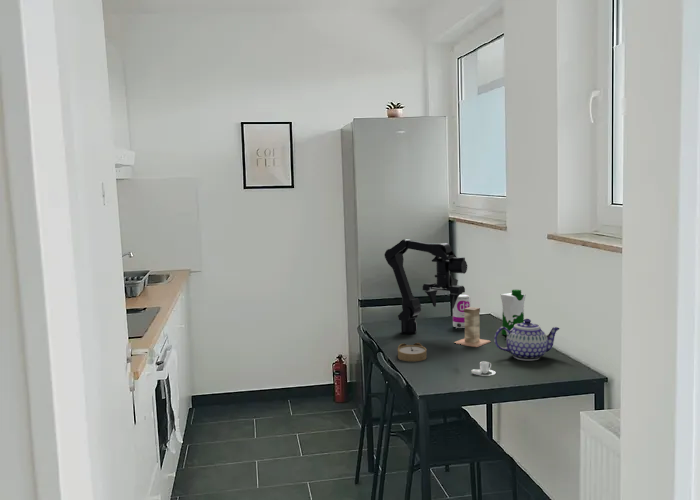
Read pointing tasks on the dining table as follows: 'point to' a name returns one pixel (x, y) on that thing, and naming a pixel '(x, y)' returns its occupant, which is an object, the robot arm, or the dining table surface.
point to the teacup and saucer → (483, 369)
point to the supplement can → (460, 310)
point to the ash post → (472, 324)
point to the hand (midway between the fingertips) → (443, 307)
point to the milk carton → (512, 309)
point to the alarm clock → (411, 352)
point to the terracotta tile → (472, 343)
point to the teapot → (527, 340)
